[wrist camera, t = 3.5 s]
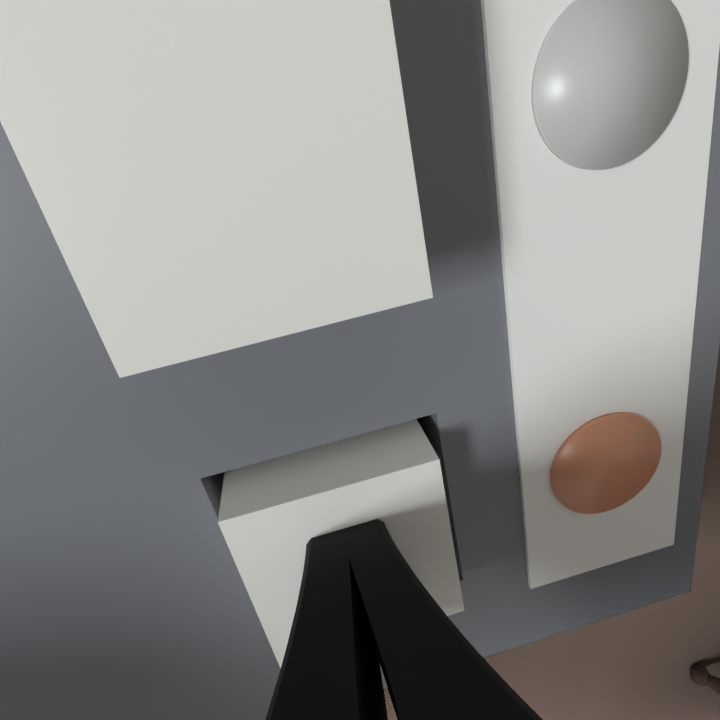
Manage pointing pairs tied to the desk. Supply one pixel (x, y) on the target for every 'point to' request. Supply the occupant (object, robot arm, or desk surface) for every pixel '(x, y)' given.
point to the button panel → (397, 374)
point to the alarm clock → (704, 678)
